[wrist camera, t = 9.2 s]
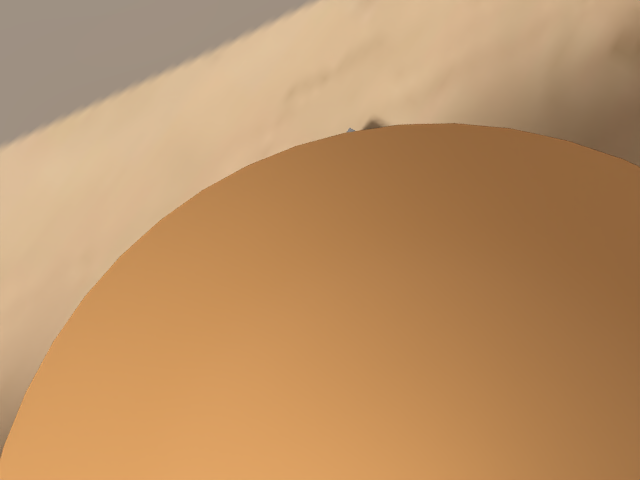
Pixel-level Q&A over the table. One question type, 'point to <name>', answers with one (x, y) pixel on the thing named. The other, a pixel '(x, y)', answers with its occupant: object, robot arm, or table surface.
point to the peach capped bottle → (362, 322)
